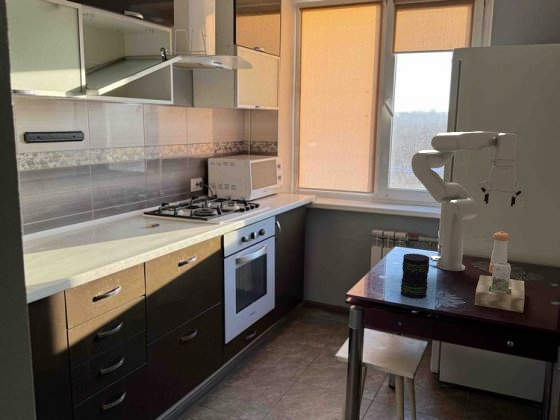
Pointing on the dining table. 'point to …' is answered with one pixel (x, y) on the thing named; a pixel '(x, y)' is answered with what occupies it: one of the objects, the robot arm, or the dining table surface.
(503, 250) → the salt shaker
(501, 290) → the syrup box
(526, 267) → the dining table surface
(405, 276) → the storage jar
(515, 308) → the socket block
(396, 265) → the dining table surface
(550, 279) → the dining table surface
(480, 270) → the dining table surface
